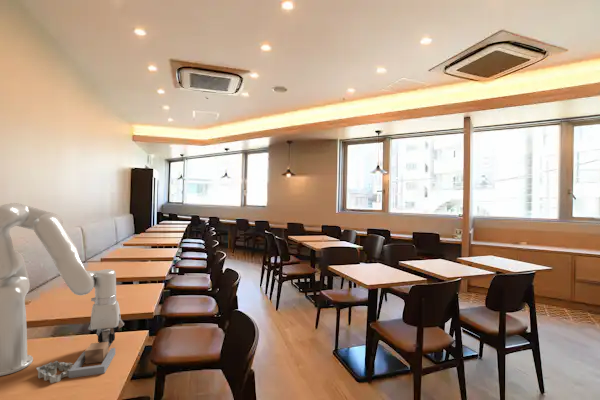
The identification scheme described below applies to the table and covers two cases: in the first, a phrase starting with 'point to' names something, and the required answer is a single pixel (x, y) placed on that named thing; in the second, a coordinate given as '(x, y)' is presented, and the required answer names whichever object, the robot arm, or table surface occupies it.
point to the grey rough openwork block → (54, 371)
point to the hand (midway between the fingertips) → (106, 342)
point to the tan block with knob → (98, 349)
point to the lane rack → (90, 370)
